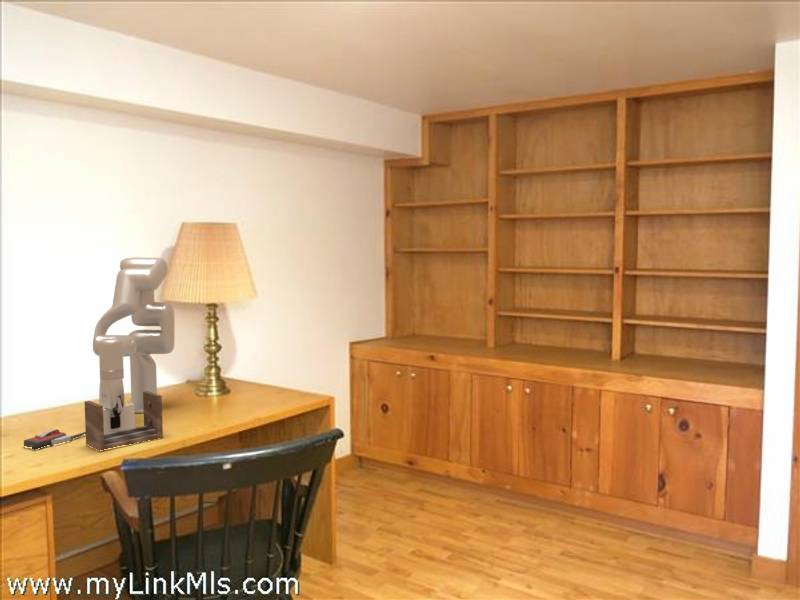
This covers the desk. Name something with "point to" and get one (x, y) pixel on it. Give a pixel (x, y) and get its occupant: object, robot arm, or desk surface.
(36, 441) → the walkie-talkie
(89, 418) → the brown wooden book rack
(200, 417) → the desk surface
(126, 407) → the door panel
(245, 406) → the desk surface
